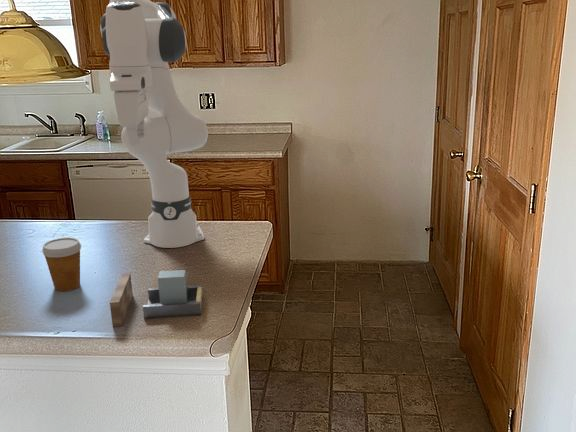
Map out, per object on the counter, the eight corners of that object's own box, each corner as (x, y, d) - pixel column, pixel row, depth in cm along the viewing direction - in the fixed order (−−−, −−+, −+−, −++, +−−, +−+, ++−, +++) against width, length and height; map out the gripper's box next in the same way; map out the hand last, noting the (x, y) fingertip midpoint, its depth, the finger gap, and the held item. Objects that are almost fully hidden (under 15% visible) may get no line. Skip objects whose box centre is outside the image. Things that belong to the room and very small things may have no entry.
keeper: (149, 299, 142) (148, 288, 141) (202, 296, 143) (201, 285, 142) (144, 318, 132) (142, 306, 131) (200, 315, 133) (200, 303, 132)
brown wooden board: (124, 295, 144) (122, 273, 142) (132, 295, 144) (130, 273, 142) (112, 326, 129) (109, 302, 127) (121, 326, 129) (118, 302, 127)
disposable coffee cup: (89, 277, 155) (83, 235, 152) (83, 292, 146) (77, 248, 143) (52, 280, 154) (45, 238, 150) (44, 295, 145) (36, 251, 141)
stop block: (162, 301, 139) (159, 271, 137) (187, 300, 140) (185, 269, 137) (160, 309, 135) (157, 278, 133) (186, 307, 136) (184, 276, 133)
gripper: (124, 76, 137) (130, 134, 141) (107, 83, 118) (115, 150, 122) (151, 75, 138) (156, 133, 142) (139, 82, 118) (145, 149, 122)
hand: (137, 141), depth 132 cm, fingers open, 8 cm apart
